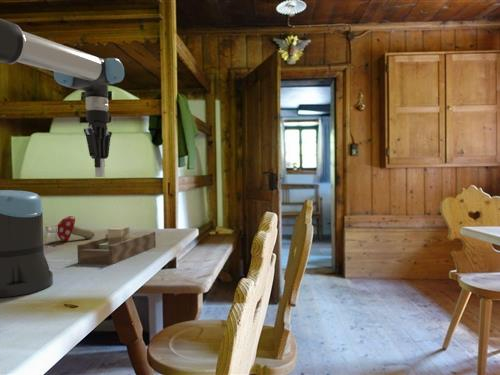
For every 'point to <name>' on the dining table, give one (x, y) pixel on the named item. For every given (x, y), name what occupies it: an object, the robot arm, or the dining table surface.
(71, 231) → the decorative mushroom
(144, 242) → the box
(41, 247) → the robot arm
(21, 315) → the dining table surface
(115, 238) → the maple block
